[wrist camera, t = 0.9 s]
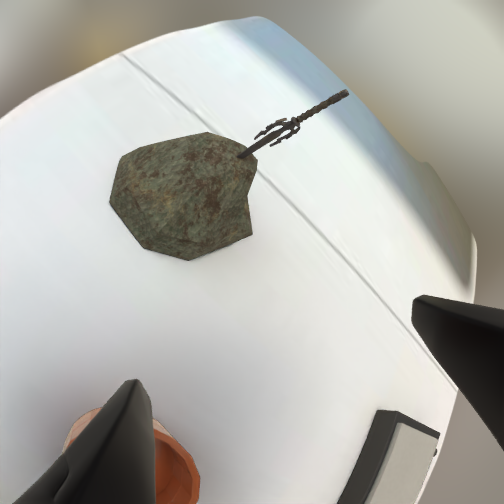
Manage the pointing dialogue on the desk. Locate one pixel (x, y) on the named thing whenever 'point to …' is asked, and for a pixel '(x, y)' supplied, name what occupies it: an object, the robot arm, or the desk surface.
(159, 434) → the bowl
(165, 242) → the sword in stone
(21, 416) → the desk surface
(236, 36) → the desk surface
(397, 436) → the scale
